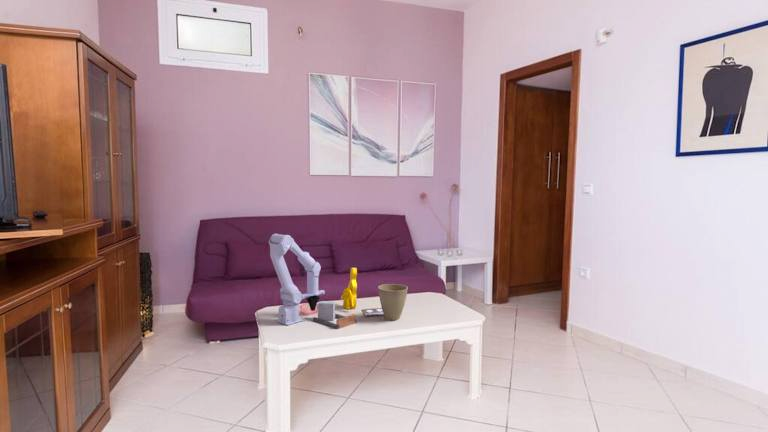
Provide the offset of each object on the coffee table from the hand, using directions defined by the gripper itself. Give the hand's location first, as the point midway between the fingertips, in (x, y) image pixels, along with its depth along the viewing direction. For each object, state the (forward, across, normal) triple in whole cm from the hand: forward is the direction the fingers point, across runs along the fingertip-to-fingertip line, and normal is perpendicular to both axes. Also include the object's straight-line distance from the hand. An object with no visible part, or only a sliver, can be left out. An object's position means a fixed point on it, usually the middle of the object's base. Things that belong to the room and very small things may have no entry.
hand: (312, 310), depth 225 cm
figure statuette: (+3, +22, -5) cm, 23 cm away
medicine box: (+3, 0, -11) cm, 11 cm away
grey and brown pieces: (+2, 0, -17) cm, 17 cm away
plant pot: (+3, +24, -34) cm, 42 cm away
